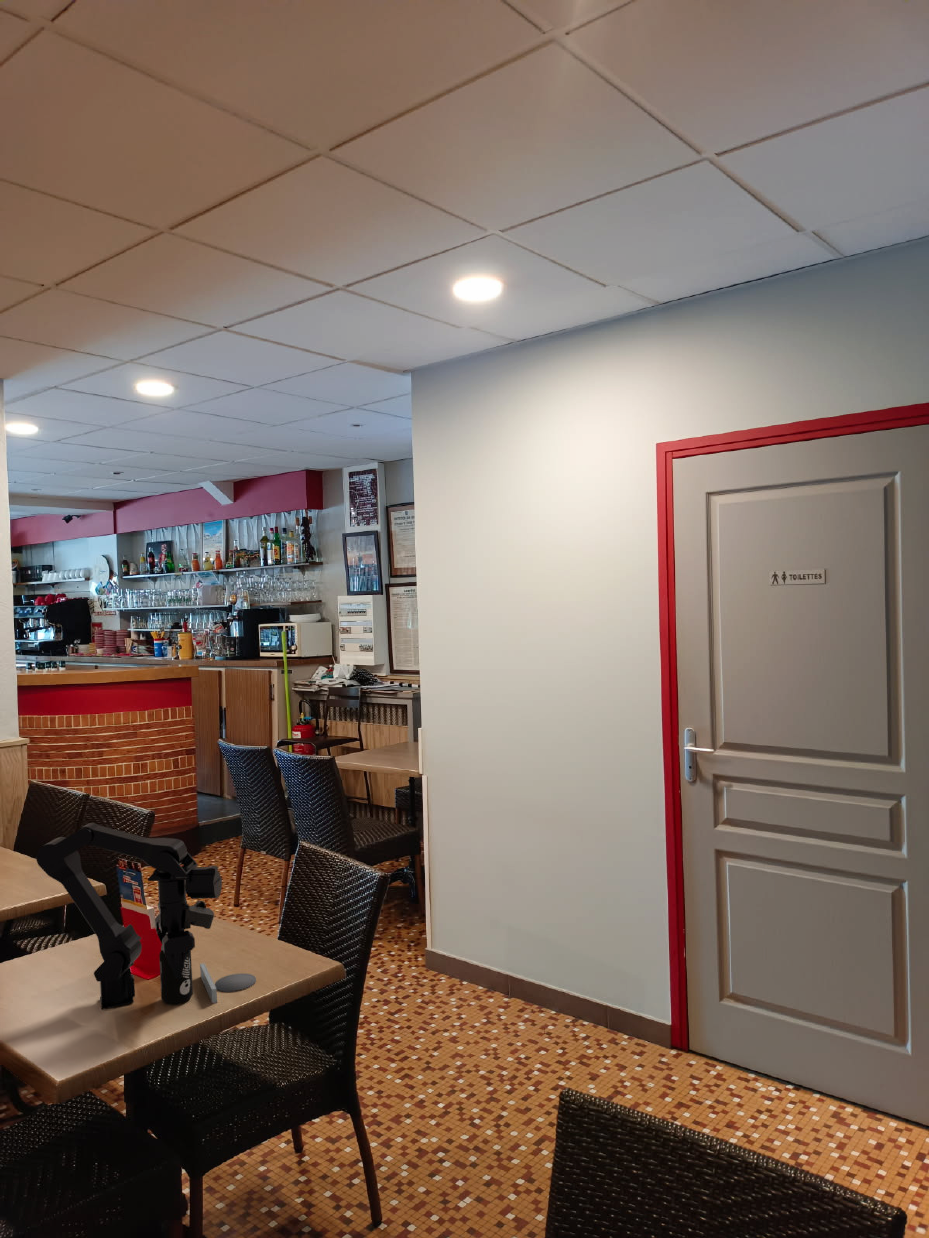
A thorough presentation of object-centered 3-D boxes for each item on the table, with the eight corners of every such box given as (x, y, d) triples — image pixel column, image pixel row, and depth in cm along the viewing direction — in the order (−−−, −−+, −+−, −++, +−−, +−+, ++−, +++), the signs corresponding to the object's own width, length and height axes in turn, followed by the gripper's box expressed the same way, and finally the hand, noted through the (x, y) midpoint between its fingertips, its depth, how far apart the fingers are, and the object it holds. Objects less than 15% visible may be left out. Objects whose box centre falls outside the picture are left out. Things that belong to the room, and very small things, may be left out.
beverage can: (173, 1008, 193) (170, 953, 192) (155, 1001, 196) (152, 947, 196) (199, 997, 198) (196, 943, 198) (181, 990, 202) (178, 937, 202)
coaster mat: (218, 995, 198) (218, 993, 198) (212, 980, 207) (211, 978, 207) (259, 986, 202) (259, 984, 202) (251, 972, 210) (251, 970, 210)
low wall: (212, 1003, 194) (211, 989, 194) (200, 976, 209) (200, 963, 209) (217, 1002, 195) (216, 988, 195) (204, 975, 209) (204, 962, 209)
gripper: (217, 904, 192) (221, 977, 192) (203, 881, 209) (206, 948, 209) (162, 914, 187) (166, 988, 187) (152, 889, 204) (156, 958, 204)
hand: (175, 969), depth 197 cm, fingers open, 9 cm apart
